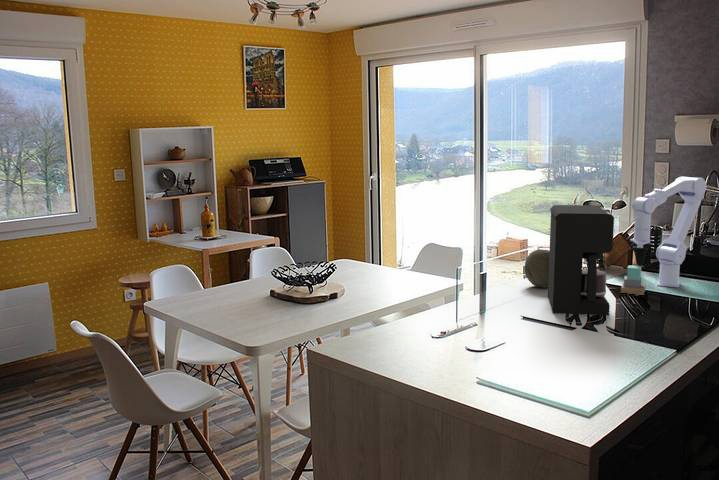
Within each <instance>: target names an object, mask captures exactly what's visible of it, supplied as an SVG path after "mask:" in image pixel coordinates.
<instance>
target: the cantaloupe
mask: <svg viewBox="0 0 719 480" xmlns="http://www.w3.org/2000/svg"><path fill="white" fill-rule="evenodd" d="M549 252H550V249H549V250H548V249H535V250H533V251H531V252H530V253H529V255H528V256H527V257H526V259H525V263H524V274H525V277H526V279H527V281H529V283H530V284H532V285H533V286H534V287H537V288H539V289H545V288H548V279H549Z"/></svg>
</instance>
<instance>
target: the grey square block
mask: <svg viewBox="0 0 719 480" xmlns="http://www.w3.org/2000/svg"><path fill="white" fill-rule="evenodd" d="M623 279H624V280H623V283H624V287H632V288H641V285H642V277H641V278H640V280H630V279H627V275H624V278H623Z"/></svg>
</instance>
